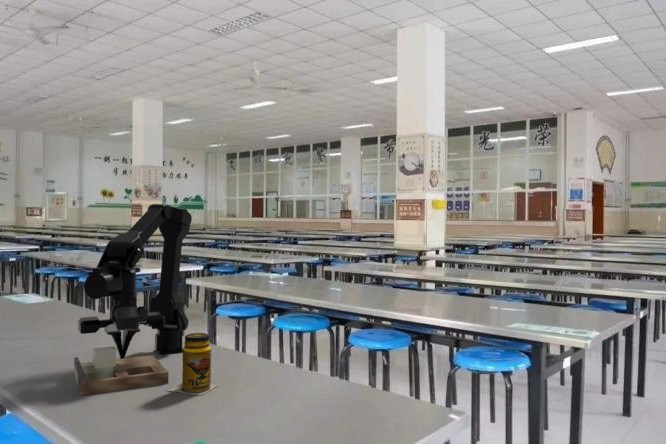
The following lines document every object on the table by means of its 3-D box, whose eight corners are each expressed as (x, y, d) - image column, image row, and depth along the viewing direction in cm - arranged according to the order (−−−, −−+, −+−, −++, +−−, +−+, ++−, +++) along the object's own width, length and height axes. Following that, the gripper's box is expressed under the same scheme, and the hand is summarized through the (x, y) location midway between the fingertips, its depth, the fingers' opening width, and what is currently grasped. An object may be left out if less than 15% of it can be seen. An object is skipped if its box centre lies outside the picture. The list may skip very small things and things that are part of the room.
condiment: (201, 396, 115) (202, 339, 115) (167, 391, 117) (167, 336, 117) (218, 385, 122) (219, 332, 122) (185, 381, 124) (186, 329, 124)
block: (112, 361, 130) (112, 345, 130) (115, 366, 126) (116, 349, 126) (92, 364, 128) (92, 347, 128) (95, 369, 124) (95, 351, 124)
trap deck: (152, 365, 137) (153, 349, 137) (168, 383, 123) (168, 365, 123) (74, 374, 128) (74, 357, 127) (81, 395, 114) (81, 376, 114)
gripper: (83, 300, 117) (83, 372, 117) (171, 295, 127) (170, 361, 127) (78, 293, 127) (77, 360, 127) (160, 288, 136) (159, 350, 136)
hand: (122, 358), depth 129 cm, fingers closed
